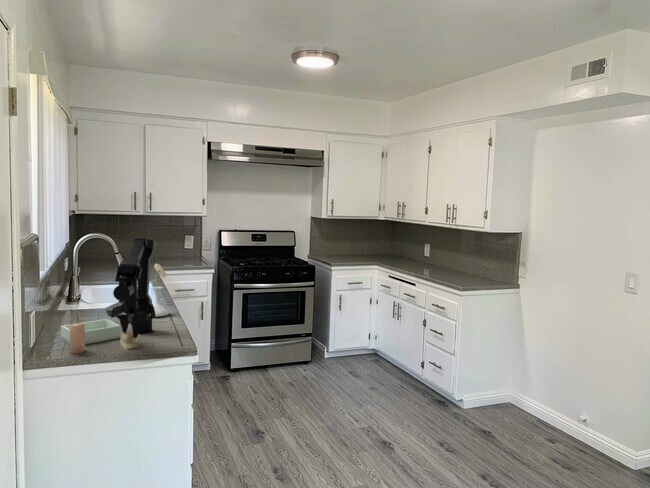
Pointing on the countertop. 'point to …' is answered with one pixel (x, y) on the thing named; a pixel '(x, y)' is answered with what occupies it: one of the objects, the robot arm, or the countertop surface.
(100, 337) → the tote
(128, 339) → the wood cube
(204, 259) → the countertop surface
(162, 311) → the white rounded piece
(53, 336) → the countertop surface
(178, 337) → the countertop surface
